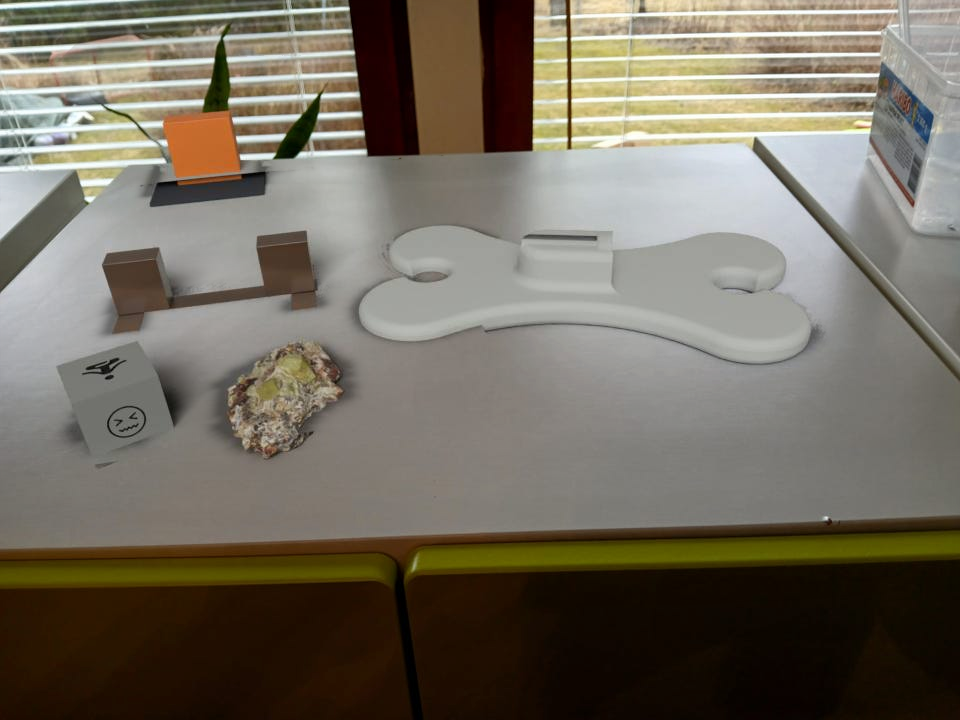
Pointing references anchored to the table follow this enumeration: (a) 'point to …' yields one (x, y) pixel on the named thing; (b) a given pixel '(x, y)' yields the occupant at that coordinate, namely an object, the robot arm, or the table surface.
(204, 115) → the orange flat square block
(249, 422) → the mineral rock
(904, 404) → the table surface
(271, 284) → the stand
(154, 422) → the dice cube
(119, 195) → the table surface
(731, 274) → the holder
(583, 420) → the table surface
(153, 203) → the mat
